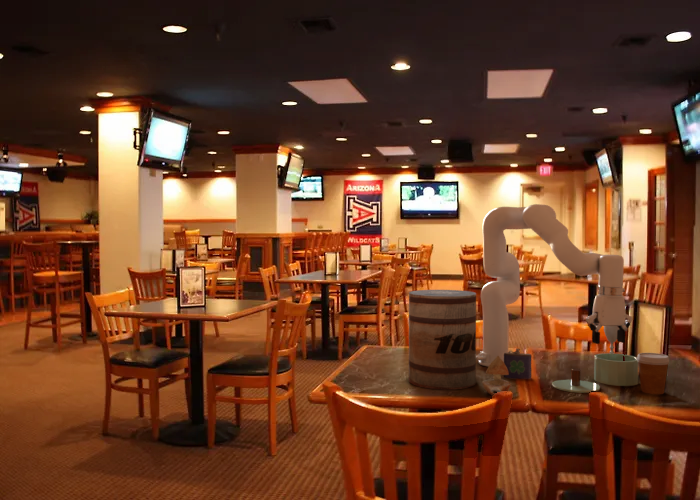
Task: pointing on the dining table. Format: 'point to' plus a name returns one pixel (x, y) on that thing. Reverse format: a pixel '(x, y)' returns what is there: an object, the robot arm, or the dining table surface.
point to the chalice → (611, 335)
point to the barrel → (442, 339)
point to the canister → (616, 369)
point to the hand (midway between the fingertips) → (608, 342)
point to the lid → (575, 384)
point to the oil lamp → (496, 377)
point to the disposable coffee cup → (652, 372)
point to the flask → (518, 365)
